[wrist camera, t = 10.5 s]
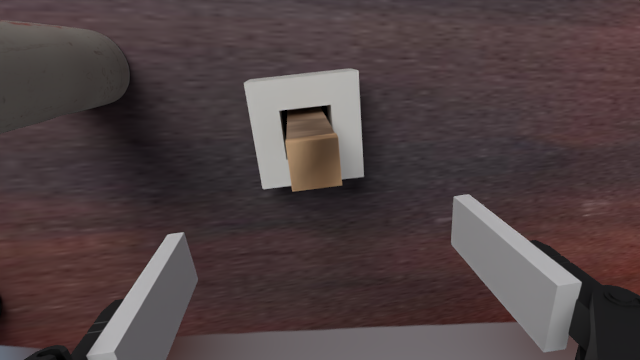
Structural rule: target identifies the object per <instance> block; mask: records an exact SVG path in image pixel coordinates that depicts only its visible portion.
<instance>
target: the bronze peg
mask: <svg viewBox="0 0 640 360" xmlns="http://www.w3.org/2000/svg"><path fill="white" fill-rule="evenodd" d="M285 144H286V151H287V158H288V164H289V171H290V178H291V185H292V192H293V191H301V190H309V189H317V188H325V187H333V186H341V185H342V178H341V166H340V153H339V141H338V136H337V134H336V133H335V132H334V130H333V129H332V127H331V125H330V123H329V122H328V120H327V118H326V116H325V115H324V113H323V111H322V109H321V108H320V106H319V107H311V108H302V109H293V110H288V111H287V135H286V141H285Z"/></svg>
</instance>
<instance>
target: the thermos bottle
mask: <svg viewBox="0 0 640 360" xmlns="http://www.w3.org/2000/svg"><path fill="white" fill-rule="evenodd" d="M129 81H130V71H129V66H128V63H127V60H126V58H125V56H124V54H123V53H122V51H121V50H120V49H119V47H118V46H117V45H116V44H115V43H114V42H113V41H112V40H110V39H109V38H107V37H106V36H104V35H102V34H100V33H98V32H96V31H92V30H87V29H79V28H71V27H62V26H54V25H46V24H38V23H28V22H15V21H4V20H0V133H4V132H8V131H11V130H15V129H18V128H22V127H26V126H29V125H33V124H37V123H40V122H44V121H47V120H50V119H53V118H55V117H58V116H61V115H66V114H71V113H76V112H80V111H84V110H88V109H91V108H95V107H99V106H102V105H106V104H109V103H112V102H114V101H116V100H118V99H119V98H121V97H122V95H123V94H124V93H125V91H126V90H127V88H128V85H129Z"/></svg>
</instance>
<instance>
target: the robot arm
mask: <svg viewBox="0 0 640 360" xmlns="http://www.w3.org/2000/svg"><path fill="white" fill-rule="evenodd" d="M451 245H452V246H453V247H454V248H455V249H456V250H457V252H458V253H459V254H460V255H461V256H462V257H463V259H464V260H465V261H466V262H467V263H468V265H469V266H470V267H471V268H472V269H473V270H474V272H475V273H476V274H477V275H478V276H479V277H480V279H481V280H482V281H483V282H484V283H485V284H486V286H487V287H488V288H489V289H490V290H491V291H492V293H493V294H494V295H495V296H496V297H497V298H498V300H499V301H500V302H501V303H502V304H503V305H504V307H505V308H506V309H507V310H508V311H509V312H510V314H511V315H512V316H513V317H514V318H515V319H516V321H517V322H518V323H519V324H520V325H521V326H522V327H523V329H524V330H525V331H526V332H527V333H528V335H529V336H530V337H531V338H532V339H533V340H534V342H535V343H536V344H537V345H538V346H539V348H540V349H541V350H542V351H543V352H549V351H556V350H562V349H566V346H567V341H568V337H569V335H570V336H571V337H572V338H573V339H574V340H575V341H576V342H577V343H578V344H579V345H578V349H577V353H576V357H575V360H640V296H639V295H637V294H635V293H633V292H631V291H629V290H627V289H624V288H621V287H618V286H611V285H602V284H600V283H599V282H598V281H596V280H595V279H593V278H592V277H591V276H589V275H588V274H587V273H585V272H584V271H583V270H581V269H580V268H578V267H577V266H576V265H574V264H573V263H570V261H569V260H568V259H566V258H565V257H564V256H561V254H559V253H558V252H557V251H555V250H554V249H553V248H551V247H550V246H548V245H546V244H543V243H541V242H539V241H536V240H532V241H528V240H527V239H526V238H524V237H523V236H522V235H520V234H519V233H518V232H517V231H515V230H514V229H513V228H511V227H510V226H509V225H508V224H506V223H505V222H504V221H502V220H501V219H500V218H499V217H497V216H496V215H495V214H493V213H492V212H491V211H490V210H488V209H487V208H486V207H484V206H483V205H482V204H481V203H479V202H478V201H477V200H475V199H474V198H473V197H472V196H470V195H469V194H468V195H460V196H454V200H453V218H452V236H451ZM197 281H198V278H197V274H196V271H195V267H194V264H193V261H192V257H191V254H190V250H189V247H188V244H187V240H186V237H185V234H184V232H182V233H175V234H168V235H167V236H166V238H165V239H164V241H163V242H162V244H161V245H160V247H159V248H158V250H157V251H156V253H155V254H154V256H153V257H152V259H151V260H150V262H149V263H148V265H147V266H146V268H145V269H144V271H143V272H142V274H141V275H140V276H139V278H138V279H137V281H136V282H135V284H134V285H133V287H132V288H131V290H130V291H129V293H128V294H127V296H126V297H125V299H121V300H115V301H114V302H113V303H111V304H110V305H109V306H108V307H107V308H105V309H104V310H103V311H102V312H101V314H100V315H99V316H98V318H97V319H96V321H95V322H94V324H93V325H92V326H91V327H90V329H89V330H88V333H87V334H85V336H84V337H83V339H82V340H81V341H80V343H79V344H78V345H77V347H76V348H75V350H74V351H73V352H72V354H71V355H70V353H69V351H68V349H67V348H66V347H65V346H61V345H55V346H50V347H47V348H44V349H42V350H40V351H37V352H35V353H34V354H32V355H31V356H29V357H28V358H26V359H24V360H166V358H167V356H168V353H169V351H170V348H171V346H172V343H173V341H174V338H175V336H176V333H177V331H178V328H179V326H180V323H181V321H182V318H183V316H184V313H185V311H186V308H187V306H188V303H189V301H190V298H191V296H192V293H193V291H194V288H195V286H196V283H197ZM0 314H1V302H0Z"/></svg>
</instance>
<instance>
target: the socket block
mask: <svg viewBox="0 0 640 360" xmlns="http://www.w3.org/2000/svg"><path fill="white" fill-rule="evenodd" d="M244 87H245V93H246V98H247V104H248V110H249V115H250V121H251V126H252V132H253V137H254V143H255V149H256V154H257V160H258V165H259V171H260V176H261V182H262V188H263V189H269V188H277V187H285V186H292V185H291V178H290V171H289V164H288V158H287V151H286V144H285V141H286V140H285V133H284V126H283V119H282V112H281V110H289V109H298V108H307V107H315V106H324V105H327V115H328V122H329V123H330V125H331V127H332V129H333V130H334V132H335V133H336V134H337V136H338V141H339V153H340V166H341V178H342V179H349V178H357V177H364V168H363V149H362V130H361V111H360V92H359V73H358V70H354V69H341V70H332V71H323V72H314V73H305V74H295V75H286V76H277V77H268V78H259V79H250V80H248V81H246V82H245V83H244Z"/></svg>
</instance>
